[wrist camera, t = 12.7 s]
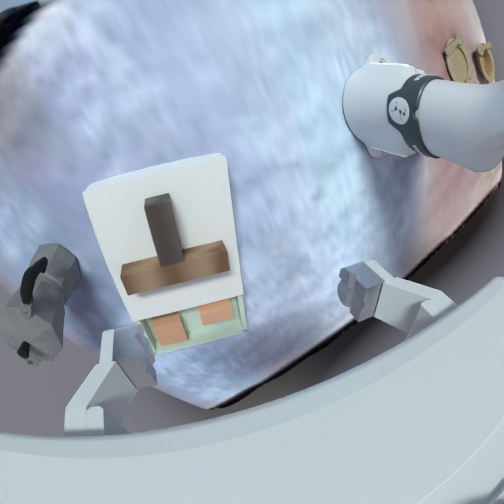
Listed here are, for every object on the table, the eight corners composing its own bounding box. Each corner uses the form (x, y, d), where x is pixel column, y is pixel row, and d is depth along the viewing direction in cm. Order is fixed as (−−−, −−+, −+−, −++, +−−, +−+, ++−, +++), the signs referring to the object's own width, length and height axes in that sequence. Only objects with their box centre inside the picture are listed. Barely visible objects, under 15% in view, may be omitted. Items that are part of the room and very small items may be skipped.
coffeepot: (77, 306, 39) (60, 395, 24) (30, 291, 35) (-1, 374, 20) (92, 227, 34) (59, 312, 19) (37, 209, 30) (-21, 281, 15)
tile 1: (231, 306, 42) (233, 317, 43) (223, 287, 46) (225, 298, 47) (199, 314, 41) (203, 325, 42) (194, 294, 45) (197, 305, 46)
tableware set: (497, 132, 52) (507, 136, 49) (460, 167, 53) (472, 172, 49) (478, 28, 32) (489, 29, 29) (433, 34, 32) (447, 35, 29)
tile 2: (187, 339, 46) (185, 330, 48) (180, 320, 43) (178, 310, 45) (161, 346, 45) (160, 336, 47) (152, 327, 42) (151, 317, 44)
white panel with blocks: (218, 152, 35) (226, 158, 31) (235, 277, 46) (243, 294, 43) (90, 183, 31) (82, 193, 27) (133, 303, 42) (133, 321, 39)
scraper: (213, 183, 32) (218, 190, 30) (225, 258, 38) (230, 270, 36) (103, 210, 29) (98, 219, 27) (129, 282, 35) (127, 295, 33)
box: (235, 277, 46) (241, 290, 43) (242, 318, 52) (247, 331, 49) (133, 303, 42) (133, 317, 40) (152, 341, 48) (153, 355, 45)
